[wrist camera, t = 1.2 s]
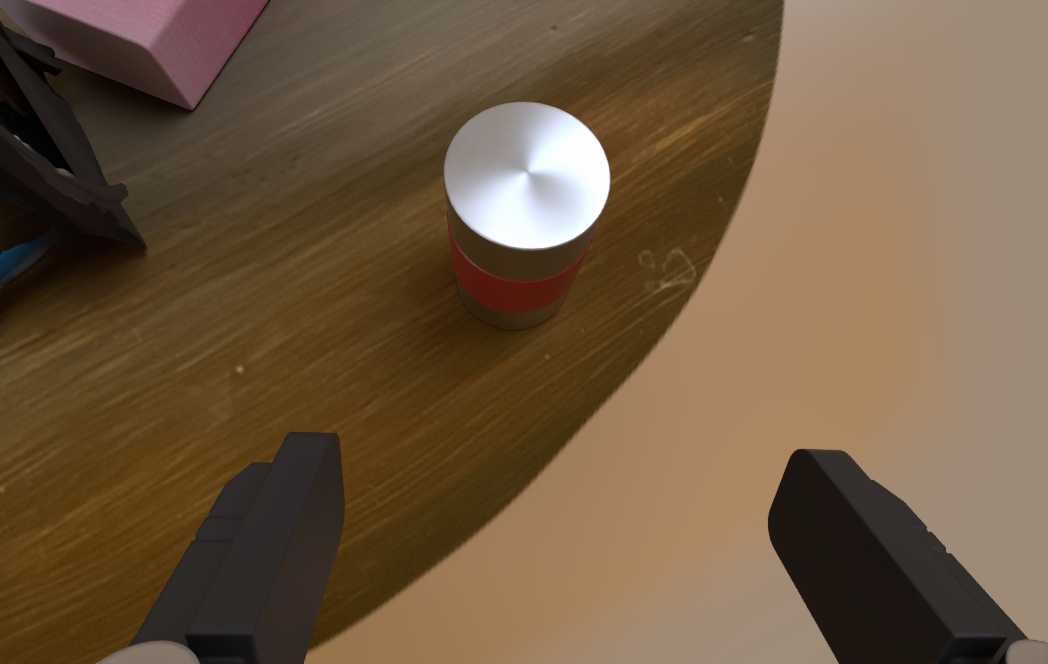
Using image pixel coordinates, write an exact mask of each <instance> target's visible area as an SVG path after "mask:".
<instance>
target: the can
mask: <svg viewBox="0 0 1048 664" xmlns="http://www.w3.org/2000/svg"><path fill="white" fill-rule="evenodd" d="M443 176H444V186H445V194H446V202H447V220H448V229H449V237H450V244H451V252H452V260H453V265H454V269H455V276H456V284H457V288H458V292H459V294H460V297H461V299H462V301H463V302H464V304H465V305H466V307H467V308H468V309H469V310H470V311H471V312H472V313H473V314H474V315H475V316H476V317H477V318H479V319H480V320H481V321H483V322H485V323H487V324H489V325H491V326H494V327H497V328H501V329H507V330H521V329H527V328H531V327H534V326H537V325H539V324H541V323H543V322H545V321H546V320H547V319H549V318H550V317H551V316H552V315H554V314H555V313H556V312H557V310H558V309H559V308H560V307H561V305H562V303H563V302H564V300H565V297H566V295H567V293H568V291H569V288H570V286H571V285H572V283H573V281H574V279H575V277H576V275H577V273H578V270H579V268H580V266H581V264H582V261H583V259H584V257H585V254H586V252H587V250H588V248H589V245H590V243H591V241H592V238H593V235H594V231H595V229H596V226H597V224H598V222H599V219H600V217H601V215H602V212H603V210H604V208H605V205H606V203H607V201H608V197H609V193H610V185H611V176H610V168H609V163H608V160H607V157H606V154H605V152H604V150H603V148H602V146H601V144H600V142H599V141H598V139H597V138H596V136H595V135H594V134H593V133H592V132H591V130H590V129H589V128H588V127H587V126H585V125H584V124H583V123H582V122H581V121H580V120H578V119H577V118H575V117H574V116H572V115H571V114H569V113H567V112H565V111H563V110H561V109H558V108H556V107H553V106H549V105H546V104H541V103H535V102H512V103H506V104H501V105H498V106H494V107H492V108H489V109H487V110H485V111H483V112H481V113H479V114H478V115H476V116H474V117H473V118H472V119H470V120H469V121H468V122H467V123H466V124H465V125H464V126H463V127H462V128H461V129H460V130H459V131H458V133H457V134H456V135H455V137H454V138H453V140H452V142H451V144H450V146H449V148H448V151H447V154H446V157H445V162H444V173H443Z"/></svg>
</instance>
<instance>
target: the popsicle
mask: <svg viewBox="0 0 1048 664" xmlns="http://www.w3.org/2000/svg"><path fill="white" fill-rule="evenodd" d="M268 1H269V0H0V8H1V9H2V10H3V11H4V12H5V13H6V14H7V15H8V16H9V17H10V18H11V19H12V20H13V21H14V22H15V23H16V24H17V25H18V26H19V27H20V28H21V29H22V30H23V31H24V32H25V33H26V34H27V35H28V36H29V37H30V38H31V39H32V40H33V41H34V42H37V43H40V44H43V45H46V46H48V47H51V48H52V49H53V50H54V51H55V56H54V57H57V58H59V59H62V60H64V61H67V62H69V63H72V64H74V65H77V66H79V67H82V68H84V69H87V70H89V71H92V72H95V73H97V74H100V75H102V76H105V77H107V78H110V79H112V80H115V81H117V82H120V83H122V84H125V85H127V86H130V87H132V88H135V89H138V90H140V91H143V92H145V93H148V94H150V95H153V96H155V97H158V98H160V99H163V100H165V101H168V102H170V103H173V104H175V105H178V106H181V107H183V108H186V109H188V110H193V109H194V108H195V107H196V105H197V104H198V102H199V101H200V99H201V98H202V97H203V95H204V94H205V92H206V91H207V89H208V88H209V86H210V85H211V83H212V82H213V81H214V79H215V78H216V76H217V75H218V73H219V72H220V70H221V69H222V67H223V66H224V65H225V63H226V62H227V60H228V59H229V57H230V56H231V54H232V53H233V51H234V50H235V49H236V47H237V46H238V44H239V43H240V41H241V40H242V38H243V37H244V35H245V34H246V33H247V31H248V30H249V28H250V27H251V25H252V24H253V22H254V21H255V19H256V18H257V17H258V15H259V14H260V12H261V11H262V9H263V8H264V6H265V5H266V3H267V2H268Z"/></svg>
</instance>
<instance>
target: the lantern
mask: <svg viewBox="0 0 1048 664" xmlns="http://www.w3.org/2000/svg"><path fill="white" fill-rule="evenodd" d="M54 56H55V51H54V50H53V49H52V48H51V47H48V46H46V45H43V44H40V43H37V42H34V41H32V40H30V39H28V38H26V37H24V36H22V35H20V34H18V33H15V32H14V31H12V30H10V29H8V28H6V27H4V26H3V24H2V22H1V21H0V198H2V199H4V200H5V201H7V202H8V203H9V204H10V205H12V206H14V207H17V208H20V209H30V208H33V209H34V210H36V212H37V214H38V215H39V216H40V217H43V218H44V219H45V220H47V221H48V222H49V223H50V224H51V225H52V226H53V228H52V229H51V230H50V231H49V232H48V233H47V234H46V235H44V236H42V237H39V238H36V239H34V240H33V241H31V242H29V243H23V244H21V245H18V246H15V247H14V248H12V249H10V250H5V251H2V254H1V255H0V293H1V292H2V291H3V290H4V289H5V288H6V287H7V286H8V285H9V284H11V283H12V282H14V281H15V280H16V279H17V278H19V277H20V276H21V275H22V274H23V273H24V272H26V271H27V270H28V269H29V268H30V267H32V266H33V265H34V264H35V263H37V262H38V261H39V260H41V259H42V258H44V257H45V256H46V255H47V254H48V253H50V252H51V251H53V250H54V249H55V248H56V247H58V246H59V245H61V244H62V243H63V242H65V241H67V240H68V239H70V238H71V237H72V236H74V235H76V234H78V233H86V234H91V235H96V236H101V237H107V238H111V239H114V240H118V241H120V242H123V243H126V244H129V245H132V246H136V247H139V248H143V249H147V247H146V245H145V242H144V240H143V238H142V237H141V235H140V234H139V232H138V231H137V229H136V228H135V226H134V224H133V223H132V221H131V220H130V218H129V216H128V215H127V213H126V212H125V210H124V209H123V207H122V205H121V204H120V202H121V201H123V200H124V199H125V198H126V197H127V196H128V192H127V190H126V187H127V186H125V184H122V183H120V184H117V185H113V186H109V185H108V184H107V182H106V181H105V178H104V176H103V174H102V172H101V169H100V167H99V165H98V162H97V160H96V158H95V155H94V153H93V150H92V148H91V145H90V143H89V141H88V139H87V137H86V135H85V133H84V131H83V129H82V127H81V126H80V124H79V123H78V121H77V120H76V118H75V116H74V114H73V112H72V110H71V108H70V107H69V105H68V103H67V102H66V101H65V100H64V99H63V98H62V97H61V96H60V95H59V94H56V92H55V91H54V90H53V89H52V88H51V87H50V86H49V84H48V82H47V80H46V77H45V75H44V72H43V71H45V72H48V73H50V74H52V75H54V76H56V75H58V74H59V73H60V72H61V71H63V69H62V68H61V67H60V66H59V65H58V64H57V63H56V62H55V60H54Z"/></svg>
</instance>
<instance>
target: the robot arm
mask: <svg viewBox="0 0 1048 664" xmlns="http://www.w3.org/2000/svg"><path fill="white" fill-rule="evenodd" d="M344 512H345V499H344V487H343V475H342V463H341V451H340V441H339V437H338V435H337V434H336V433H315V432H290V433H288V435H287V436H286V438H285V439H284V441H283V443H282V445H281V447H280V449H279V451H278V453H277V455H276V457H275V459H274V461H273V463H258V462H252V463H251V464H250V465H248V466H247V467H246V468H245V469H244V470H242V471H241V472H240V473H239V474H238V475H236V476H235V477H234V478H233V479H232V480H230V481H229V482H228V483H227V484H226V485H225V486H224V488H223V489H222V491H221V493H220V495H219V496H218V498H217V500H216V501H215V503H214V505H213V506H212V508H211V510H210V511H209V517H206V518H205V520H204V521H203V523H202V525H201V527H200V528H199V530H198V532H197V533H196V538H195V541H192V542H191V543H190V545H189V547H188V548H187V550H186V552H185V553H184V555H183V557H182V559H181V560H180V562H179V564H178V565H177V567H176V569H175V570H174V572H173V574H172V575H171V577H170V579H169V580H168V582H167V584H166V585H165V587H164V589H163V591H162V592H161V594H160V596H159V597H158V599H157V601H156V602H155V604H154V606H153V607H152V609H151V611H150V612H149V614H148V616H147V617H146V619H145V621H144V623H143V624H142V626H141V628H140V629H139V631H138V633H137V634H136V636H135V637H134V639H133V640H132V642H131V643H130V644H129V646H128V647H126V648H124V649H122V650H119V651H117V652H115V653H113V654H111V655H109V656H107V657H106V658H104V659H102V660H100V661H99V662H98V663H96V664H304V660H305V657H306V654H307V650H308V647H309V643H310V640H311V637H312V633H313V630H314V627H315V623H316V620H317V617H318V613H319V610H320V606H321V603H322V600H323V596H324V593H325V590H326V586H327V583H328V579H329V576H330V573H331V569H332V566H333V563H334V559H335V556H336V553H337V549H338V546H339V542H340V539H341V534H342V529H343V523H344ZM926 528H927V527H926V525H925V524H924V523H923V522H922V521H921V520H920V519H919V518H918V517H917V515H916V514H915V513H914V512H913V511H912V510H911V509H910V508H909V507H908V506H907V504H906V503H905V502H904V501H902V500H901V499H900V498H898V497H897V496H895V495H894V494H893V493H891V492H890V491H888V490H887V489H886V488H884V487H883V486H881V485H880V484H878V483H877V482H876V481H874V480H871V479H870V478H869V477H868V476H867V475H866V474H865V473H864V471H863V470H862V469H861V468H860V467H859V466H858V465H857V464H856V462H855V461H854V460H853V459H852V458H851V457H850V456H849V455H848V454H847V453H846V452H844V451H841V450H819V449H818V450H817V449H798V450H796V451H795V452H794V453H793V454H792V455H791V457H790V459H789V461H788V464H787V466H786V469H785V472H784V474H783V477H782V480H781V482H780V485H779V488H778V490H777V493H776V495H775V498H774V500H773V503H772V506H771V508H770V512H769V516H768V531H769V536H770V540H771V543H772V545H773V547H774V549H775V551H776V553H777V555H778V556H779V558H780V560H781V562H782V563H783V565H784V567H785V569H786V570H787V572H788V574H789V576H790V578H791V579H792V581H793V583H794V585H795V587H796V588H797V590H798V592H799V594H800V595H801V597H802V599H803V601H804V602H805V604H806V606H807V608H808V609H809V611H810V613H811V614H812V617H813V618H814V620H815V622H816V624H817V625H818V627H819V629H820V631H821V632H822V634H823V636H824V638H825V640H826V641H827V643H828V645H829V647H830V648H831V650H832V652H833V653H834V655H835V657H836V659H837V661H838V663H839V664H1048V643H1047V642H1044V641H1038V640H1029V639H1028V638H1027V637H1026V636H1025V635H1024V633H1023V632H1022V631H1021V630H1020V629H1019V628H1018V627H1017V626H1016V625H1015V624H1014V623H1013V622H1012V620H1011V619H1010V618H1009V617H1008V616H1007V615H1006V614H1005V612H1004V611H1003V610H1002V609H1001V608H1000V607H999V606H998V605H997V604H996V603H995V602H994V600H993V599H992V598H991V597H990V596H989V595H988V594H987V593H986V592H985V590H983V588H982V587H981V586H980V585H979V584H978V583H977V582H976V581H975V579H974V578H973V577H972V576H971V575H970V574H969V573H968V572H967V571H966V569H965V568H964V567H963V566H962V565H961V564H960V563H959V562H958V561H957V560H956V558H955V557H954V556H953V555H952V554H951V553H950V554H949V553H946V547H945V546H944V545H943V544H942V543H941V542H940V541H939V540H938V539H937V538H936V536H935V535H934V534H933V533H932V532H928V531H927V529H926Z"/></svg>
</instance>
